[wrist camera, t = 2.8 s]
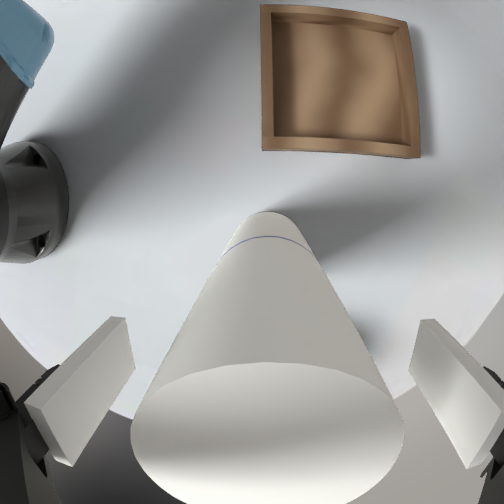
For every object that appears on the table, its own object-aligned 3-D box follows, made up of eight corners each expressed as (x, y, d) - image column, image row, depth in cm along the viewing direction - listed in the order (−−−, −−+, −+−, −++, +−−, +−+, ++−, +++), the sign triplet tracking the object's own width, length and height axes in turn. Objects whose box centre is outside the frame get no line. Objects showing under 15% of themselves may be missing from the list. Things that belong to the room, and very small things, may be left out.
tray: (262, 150, 28) (262, 147, 25) (260, 18, 25) (260, 4, 22) (407, 158, 28) (420, 157, 25) (396, 32, 24) (406, 21, 21)
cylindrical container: (317, 236, 30) (453, 417, 6) (279, 294, 32) (296, 532, 7) (255, 198, 29) (202, 294, 5) (218, 259, 31) (105, 467, 7)
